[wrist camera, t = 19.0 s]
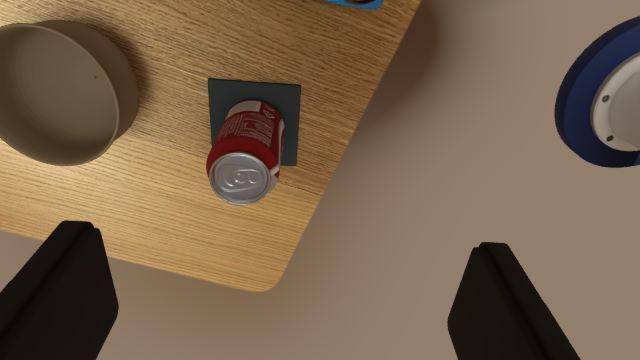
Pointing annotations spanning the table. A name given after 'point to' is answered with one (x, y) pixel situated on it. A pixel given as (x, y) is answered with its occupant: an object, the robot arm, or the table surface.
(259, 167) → the soda can
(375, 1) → the alarm clock
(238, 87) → the coaster mat
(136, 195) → the table surface
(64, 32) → the bowl
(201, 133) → the table surface
